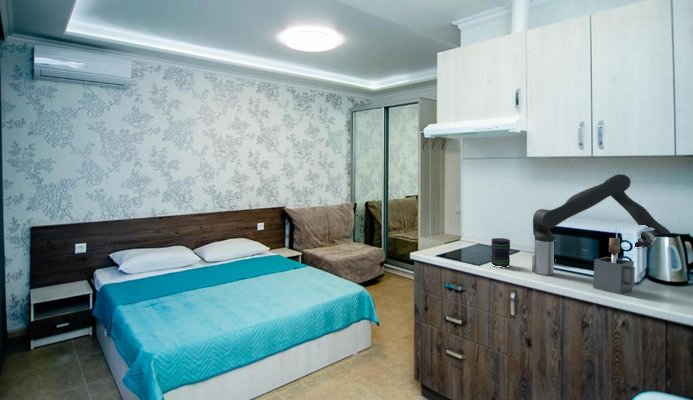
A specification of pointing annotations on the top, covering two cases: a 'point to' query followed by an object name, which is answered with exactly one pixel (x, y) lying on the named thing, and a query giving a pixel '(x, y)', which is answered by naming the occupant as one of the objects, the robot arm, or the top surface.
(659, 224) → the robot arm
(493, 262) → the storage jar
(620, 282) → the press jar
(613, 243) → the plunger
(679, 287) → the top surface
